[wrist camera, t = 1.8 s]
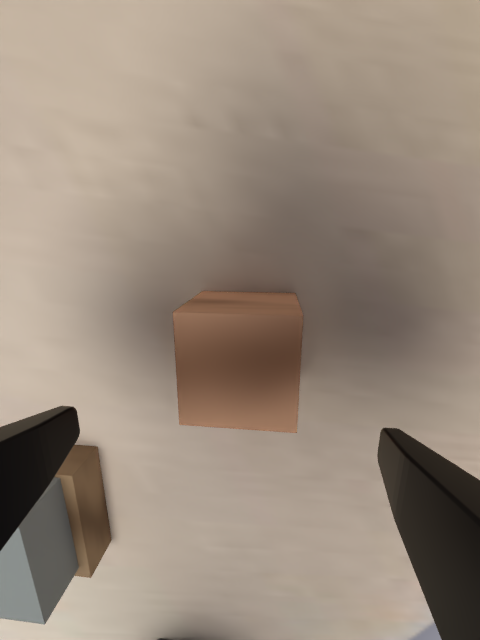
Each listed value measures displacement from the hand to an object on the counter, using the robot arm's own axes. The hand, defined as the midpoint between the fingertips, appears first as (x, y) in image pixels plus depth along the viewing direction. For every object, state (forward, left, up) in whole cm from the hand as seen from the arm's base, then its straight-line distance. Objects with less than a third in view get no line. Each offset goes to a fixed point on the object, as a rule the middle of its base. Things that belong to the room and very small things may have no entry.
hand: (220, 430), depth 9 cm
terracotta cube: (0, 0, -9) cm, 9 cm away
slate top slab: (-12, +14, -6) cm, 19 cm away
